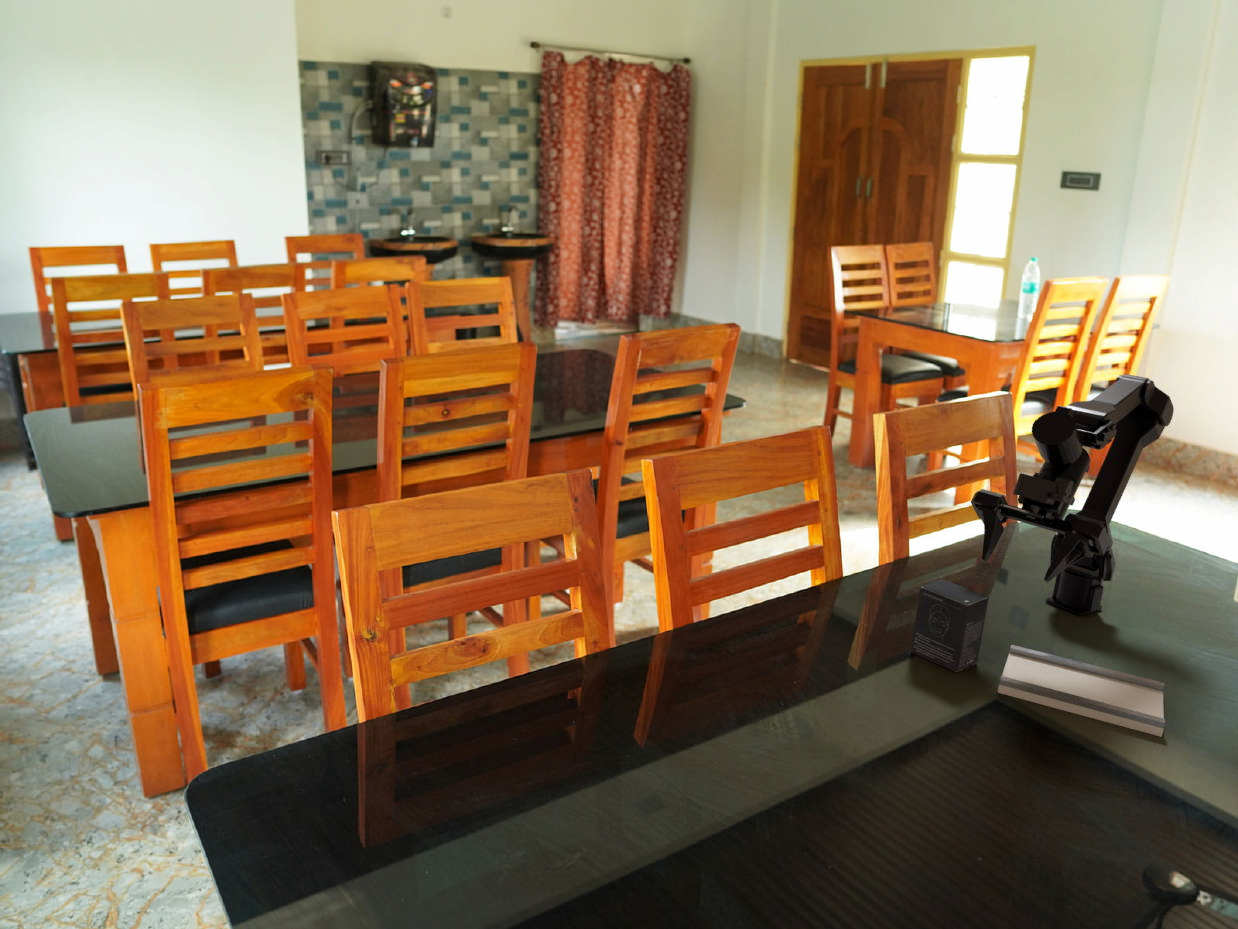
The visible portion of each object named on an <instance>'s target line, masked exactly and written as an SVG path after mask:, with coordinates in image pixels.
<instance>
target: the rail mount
mask: <svg viewBox="0 0 1238 929" xmlns="http://www.w3.org/2000/svg"><path fill="white" fill-rule="evenodd" d="M1164 689H1165V682H1162V681H1159V680H1155V679H1150V678H1147V677H1142V676H1139V675H1134V674H1131V673H1127V672H1122V671H1118V670H1114V669H1110V668H1107V667H1102V666H1098V665H1095V664H1091V663H1087V662H1083V661H1078V660H1074V659H1070V658H1066V657H1063V656H1059V655H1054V654H1050V653H1047V652H1042V651H1039V650H1035V649H1030V648H1028V647H1023V646H1018V645H1014V644H1011V645H1010V648H1009V653H1008V656H1007V659H1006V662H1005V665H1004V668H1003V672H1002V675H1000V678H999V683H998V688H997V693H999V694H1001V695H1007V696H1010V697H1013V698H1016V699H1021V700H1023V701H1028V702H1031V703H1035V704H1039V705H1042V706H1046V707H1049V708H1054V709H1057V710H1061V711H1065V712H1068V713H1071V714H1076V715H1080V716H1082V717H1086V718H1091V719H1094V720H1097V721H1101V722H1105V723H1108V724H1112V725H1116V726H1120V727H1124V728H1127V729H1132V730H1134V731H1138V732H1141V733H1146V734H1150V735H1153V736H1157V737H1161V738H1162V737H1163V735H1164V734H1163V733H1164V730H1165V724H1166V718H1164Z"/></svg>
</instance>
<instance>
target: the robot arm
mask: <svg viewBox="0 0 1238 929" xmlns="http://www.w3.org/2000/svg"><path fill="white" fill-rule="evenodd" d="M1174 410H1175V409H1174V404H1173V403H1172V400H1171V397H1170V396H1169V395H1168V394H1167V393H1165V392H1164V391H1163V390H1161V389H1159V388H1158V387H1157V386H1156V384H1155V381H1154V380H1153V379H1150V378H1149V377H1142V376H1137V375H1132V374H1128V373H1127V374H1126V373H1124V374H1119V375H1118V376H1117V377H1116V380H1115V382H1114V383H1112V384H1111V385H1110V386H1109V387H1107V388H1106V389H1104V390H1103V391H1102V392H1100V393H1099V394H1098V395H1097V396H1095V397H1093V398H1092V399H1091V400H1087V401H1086V400H1084V401H1083V400H1082V401H1080V400H1079V401H1074V402H1072V403H1069V404H1067V405H1066V406H1063V405H1057V406H1056V408H1055V410H1054V411H1050V412H1046V413H1044V414H1042V415H1041V416H1039V417H1038V418H1036V419H1035V420H1034V422H1033V423H1032V426H1031V433H1032V438H1033V439H1034V442H1035V445H1036V447H1037V450H1038V453H1039V455H1040V457H1041V459H1042V460H1044V462H1043V464H1042V466H1041V468H1040V470H1039V471H1038V472H1034V473H1033V475H1029V474H1026V473H1022V472H1021V473H1019V474H1018V477H1017V480H1016V483H1015V487H1014V490H1013V492H1012V494H1013V496H1018V498H1017V502H1018V503H1019V504H1021V507H1018V506H1015V505H1012V504H1008V501H1007V499H1006V497H1005V494H1001V493H998V492H995V491H990V490H987V489H984V488H982V489H980V490H978V491H976V492H975V493H974V494H973V496H972V498H971V500H970V503H971V506H972V508H973V510H974V513H975V514H976V516H977V518H978V519H979V520H981V522H982V523H983V525H984V526H983V527H984V528H983V529H984V530H983V543H982V553H981V554H982V555H981V560H982V562H983V563H987V561H988V560H990V558H991V557H992V554H993V552H994V550H995V549H996V546H997V545H998V543H999V541H1000V538H1001V537H1002V534H1003V533H1004V531H1005V528H1004V525H1003V524H1005V523H1007V521H1008V520H1009V519H1010V520H1014V521H1015V522H1020V523H1023V524H1028V525H1031V526H1033V527H1038V528H1041V529H1044V530H1048V531H1051V532H1055V534H1054V536H1053V538H1052V540H1051V545H1050V561H1049V562H1050V563H1049V566H1048V568H1047V571H1046V573H1045V574H1044V575H1045V576H1044V578H1043V580H1044V583H1048V584H1049V583H1050V582H1051V581H1052V580H1053V579H1055V581H1054V586H1053V590H1052V596H1049V597H1046V598H1045V602H1047V603H1049V604H1051V605H1054V606H1056V607H1058V608H1060V609H1063V610H1065V611H1067V612H1069V613H1072V614H1074V615H1076V616H1083V615H1087V614H1091V613H1094V612H1097V611H1101V610H1102V609H1103V606H1102V605H1101V603H1102V597H1103V592H1104V587H1105V586H1104V585H1103V582H1111V581H1112V579H1113V574H1114V572H1115V567H1116V560H1115V556H1114V552H1113V549H1112V547H1113V544H1114V542H1113V537H1112V531H1111V526H1110V523H1111V522H1112V519H1113V517H1114V514H1115V512H1116V510H1117V508H1118V505H1119V504H1120V502H1121V499H1122V497H1123V494H1124V492H1125V490H1126V487H1127V485H1128V483H1129V481H1130V480H1131V476H1132V474H1133V472H1134V470H1135V467H1136V465H1137V463H1138V460H1139V458H1140V456H1141V453H1142V452H1143V450H1144V448H1146V447H1147V446H1149V445H1151V444H1152V443H1154V442H1155V441H1157V440H1158V439H1160V437H1161V435H1162V434H1163V432H1164V430H1165V428H1166V427H1168V426H1169V425H1170V423H1171V421H1172V419H1173V416H1174ZM1110 443H1111V444H1110ZM1109 444H1110V446H1109V448H1108V451H1107V453H1106V454H1105V458H1104V460H1103V461H1102V463H1101V466H1100V468H1099V470H1098V472H1097V474H1096V477H1095V480H1094V482H1093V484H1092V486H1091V488H1090V491H1089V493H1088V495H1087V498H1086V499H1085V502H1084V503H1083V506H1082V508H1081V510H1079V511H1078V512H1076V513H1071V512H1070V513H1067V512H1068V510H1069V507H1070V506H1074V504H1075V501H1076V498H1075V495H1076V493H1077V491H1078V489H1079V486H1080V484H1081V483H1082V480H1083V478H1084V476H1085V475H1086V473H1088V472H1090V466H1091V465H1090V464H1091V457H1090V455H1089V453H1088V451H1087V450H1086V449H1085V448H1084V447H1086V448H1089V449H1094V450H1097V451H1100V450H1102V449H1104V448H1106V446H1107V445H1109ZM1066 513H1067V515H1066ZM1065 515H1066V516H1065Z"/></svg>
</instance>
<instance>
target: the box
mask: <svg viewBox="0 0 1238 929" xmlns="http://www.w3.org/2000/svg"><path fill="white" fill-rule="evenodd" d="M989 598H990V597H989V596H988V595H985V594H983V593H979V592H977V591H974V590H972V589H968V588H966V587H964V586H961V585H958V584H956V583H954V582H951V581H948V580H946V579H943V578H941V579H938V580H935V581H933V582H929V583H926V584H924V585H921V586H920V587H919V594H918V600H917V608H916V611H915V612H916V614H915V621H914V626H913V634H912V639H911V646H910V653H913V654H915V655H917V656H919V657H921V658H924V659H926V660H928V661H930V662H932V663H935V664H937V665H939V666H941V667H943V668H945V667H946V668H945V669H948V670H950V671H951V672H954V673H958V671H959V672H960V671H961V672H962V671H963V669H964V668H966V667H968V666H970V665H972V664H974V665H976V664H977V663H978V661H979V655H980V649H981V644H982V638H983V632H984V626H985V622H986V621H985V620H986V616H987V610H988V606H989V605H988V604H989ZM975 663H976V664H975ZM972 666H973V665H972ZM970 667H971V666H970ZM968 668H969V667H968ZM966 669H967V668H966ZM964 670H965V669H964Z"/></svg>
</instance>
